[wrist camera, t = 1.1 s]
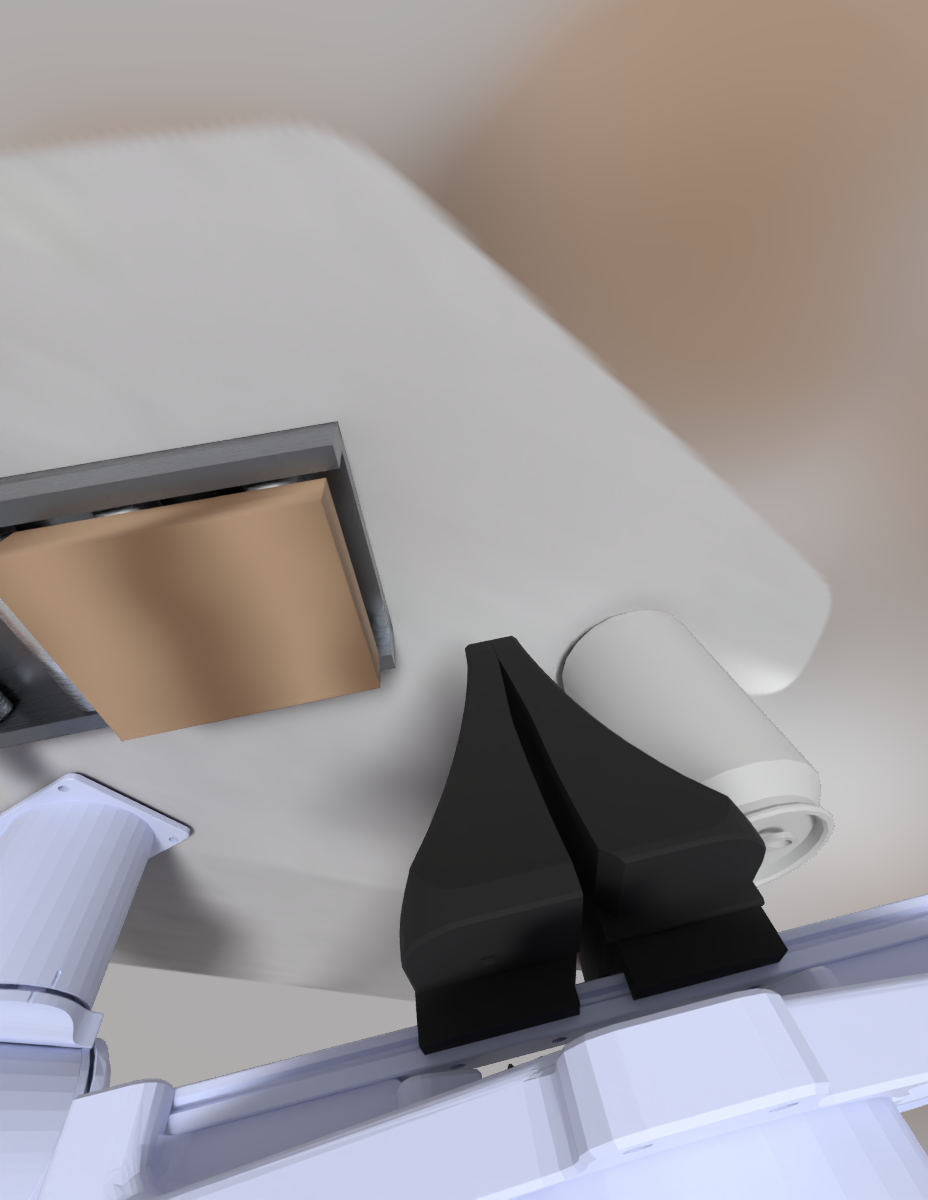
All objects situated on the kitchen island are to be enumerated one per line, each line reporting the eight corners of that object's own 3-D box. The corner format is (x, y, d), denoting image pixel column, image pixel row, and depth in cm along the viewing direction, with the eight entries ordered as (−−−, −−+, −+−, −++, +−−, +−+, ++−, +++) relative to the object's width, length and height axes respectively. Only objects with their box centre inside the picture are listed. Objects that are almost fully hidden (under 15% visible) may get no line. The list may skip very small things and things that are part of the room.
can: (531, 678, 27) (622, 902, 18) (616, 579, 24) (783, 783, 14) (621, 712, 30) (740, 918, 21) (706, 628, 27) (894, 823, 18)
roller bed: (337, 421, 18) (325, 476, 13) (392, 627, 24) (398, 718, 19) (-237, 517, 16) (-493, 619, 12) (-29, 710, 22) (-141, 833, 17)
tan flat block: (325, 477, 16) (321, 500, 14) (379, 654, 20) (380, 687, 19) (13, 532, 15) (-30, 563, 13) (142, 702, 20) (122, 741, 18)
